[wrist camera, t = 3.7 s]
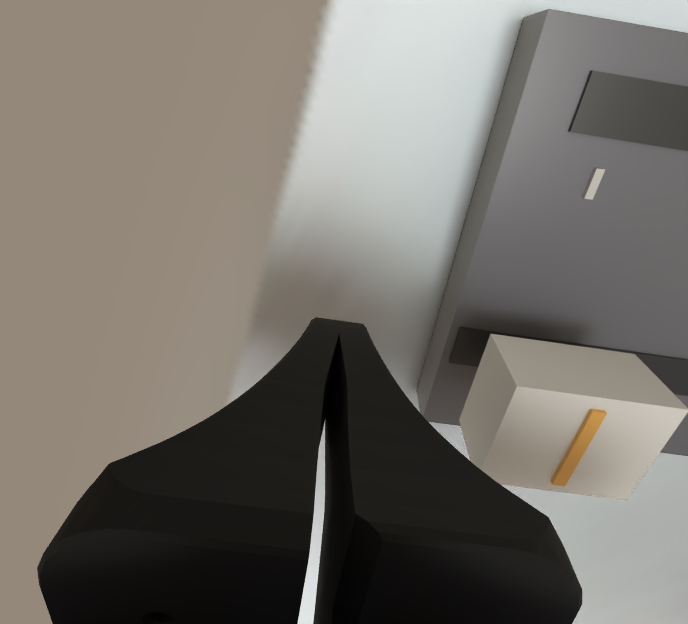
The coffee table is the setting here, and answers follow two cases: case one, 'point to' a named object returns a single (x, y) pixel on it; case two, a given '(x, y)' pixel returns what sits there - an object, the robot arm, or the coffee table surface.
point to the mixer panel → (576, 210)
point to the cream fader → (566, 417)
